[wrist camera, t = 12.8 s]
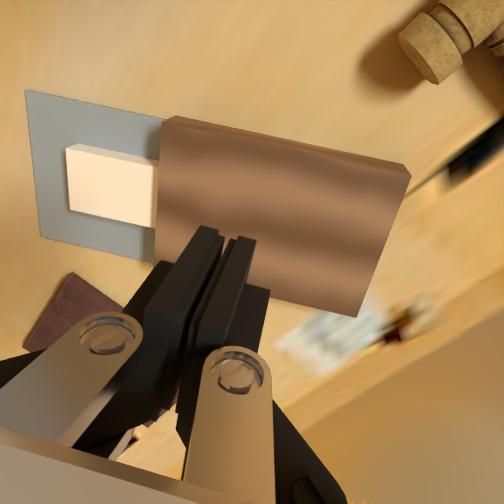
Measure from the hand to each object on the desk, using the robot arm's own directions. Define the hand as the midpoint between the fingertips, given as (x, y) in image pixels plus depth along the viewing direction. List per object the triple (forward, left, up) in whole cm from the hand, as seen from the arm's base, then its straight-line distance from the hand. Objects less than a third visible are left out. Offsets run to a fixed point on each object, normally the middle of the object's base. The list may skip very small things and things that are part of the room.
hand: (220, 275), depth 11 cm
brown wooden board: (+8, 0, -24) cm, 25 cm away
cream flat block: (+8, -14, -24) cm, 29 cm away
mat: (+9, -17, -24) cm, 31 cm away
